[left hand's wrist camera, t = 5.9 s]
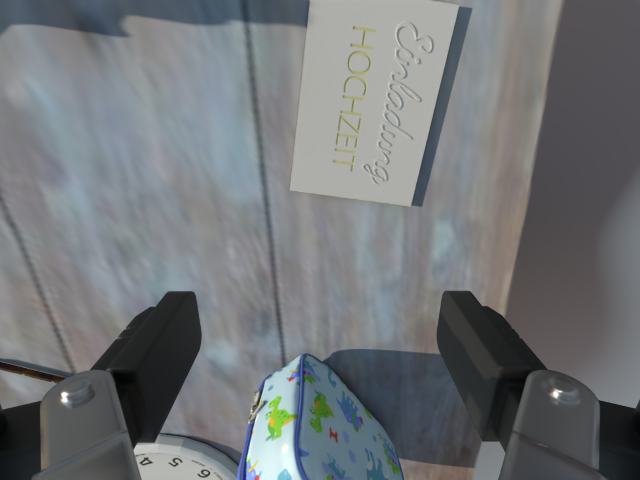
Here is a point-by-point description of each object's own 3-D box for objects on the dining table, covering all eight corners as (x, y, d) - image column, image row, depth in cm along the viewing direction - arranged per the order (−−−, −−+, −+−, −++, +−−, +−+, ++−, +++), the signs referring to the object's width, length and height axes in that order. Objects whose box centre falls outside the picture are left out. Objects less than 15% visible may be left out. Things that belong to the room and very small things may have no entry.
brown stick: (-14, 360, 52) (-20, 364, 51) (-14, 357, 52) (-20, 362, 51) (89, 385, 54) (85, 390, 53) (89, 383, 54) (85, 388, 53)
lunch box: (249, 368, 53) (207, 525, 33) (305, 333, 50) (296, 480, 31) (347, 463, 60) (360, 636, 41) (400, 437, 58) (441, 607, 39)
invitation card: (311, -20, 34) (459, 4, 35) (312, -19, 35) (458, 5, 35) (289, 190, 42) (410, 206, 43) (290, 189, 42) (410, 205, 43)
